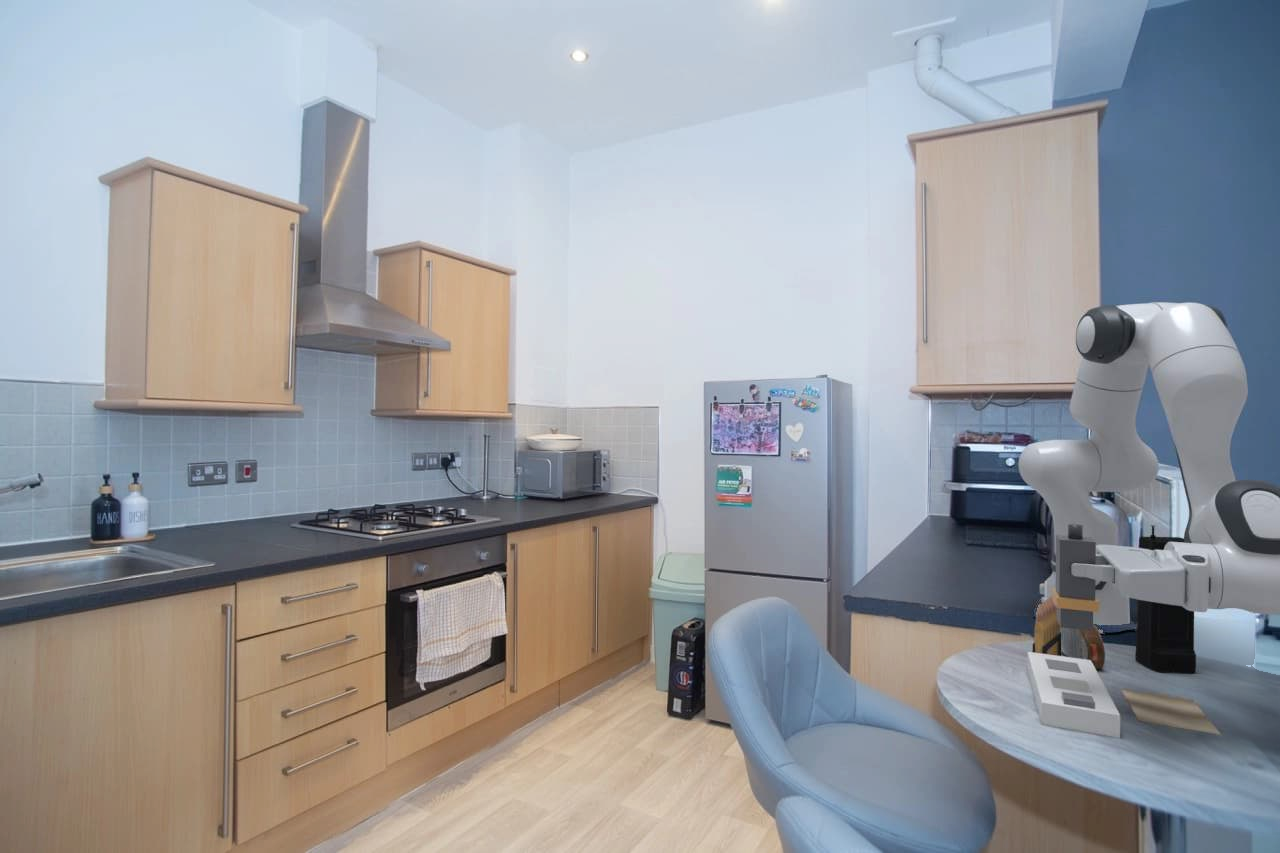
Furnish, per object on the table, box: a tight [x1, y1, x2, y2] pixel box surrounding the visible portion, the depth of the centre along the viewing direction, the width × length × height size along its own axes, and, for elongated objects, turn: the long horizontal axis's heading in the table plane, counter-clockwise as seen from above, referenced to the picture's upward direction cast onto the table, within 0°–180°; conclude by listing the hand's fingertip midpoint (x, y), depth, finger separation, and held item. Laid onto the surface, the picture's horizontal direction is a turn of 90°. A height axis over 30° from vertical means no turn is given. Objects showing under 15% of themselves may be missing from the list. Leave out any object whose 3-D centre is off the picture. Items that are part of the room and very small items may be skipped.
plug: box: [1052, 524, 1099, 631], centre depth 98 cm, size 5×5×15 cm
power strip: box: [1026, 651, 1121, 739], centre depth 100 cm, size 22×9×5 cm, turn 154°
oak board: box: [1120, 688, 1222, 735], centre depth 96 cm, size 12×9×1 cm
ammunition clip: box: [1031, 596, 1062, 656], centre depth 116 cm, size 11×2×12 cm, turn 134°
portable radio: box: [1134, 524, 1197, 674], centre depth 115 cm, size 8×6×25 cm
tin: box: [1060, 624, 1106, 670], centre depth 118 cm, size 15×3×8 cm, turn 168°
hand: (1068, 564), depth 98 cm, fingers closed on plug, 4 cm apart
